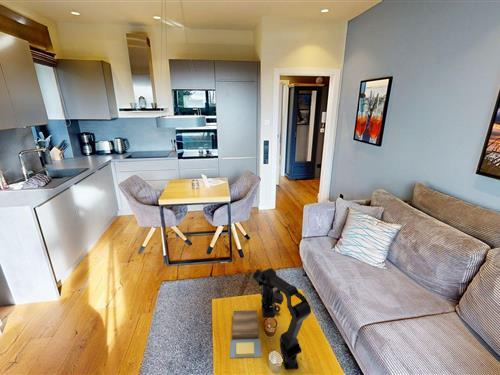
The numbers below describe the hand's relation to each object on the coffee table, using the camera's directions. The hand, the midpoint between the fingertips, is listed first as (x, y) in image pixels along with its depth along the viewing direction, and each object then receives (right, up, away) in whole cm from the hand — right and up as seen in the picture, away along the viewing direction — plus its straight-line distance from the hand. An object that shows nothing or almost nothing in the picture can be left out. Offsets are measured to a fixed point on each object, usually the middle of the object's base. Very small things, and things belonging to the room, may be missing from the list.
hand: (267, 314), depth 133 cm
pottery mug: (+3, -7, +17) cm, 19 cm away
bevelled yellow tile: (-12, -13, -8) cm, 19 cm away
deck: (-12, -11, +6) cm, 17 cm away
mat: (-12, -15, -6) cm, 20 cm away
